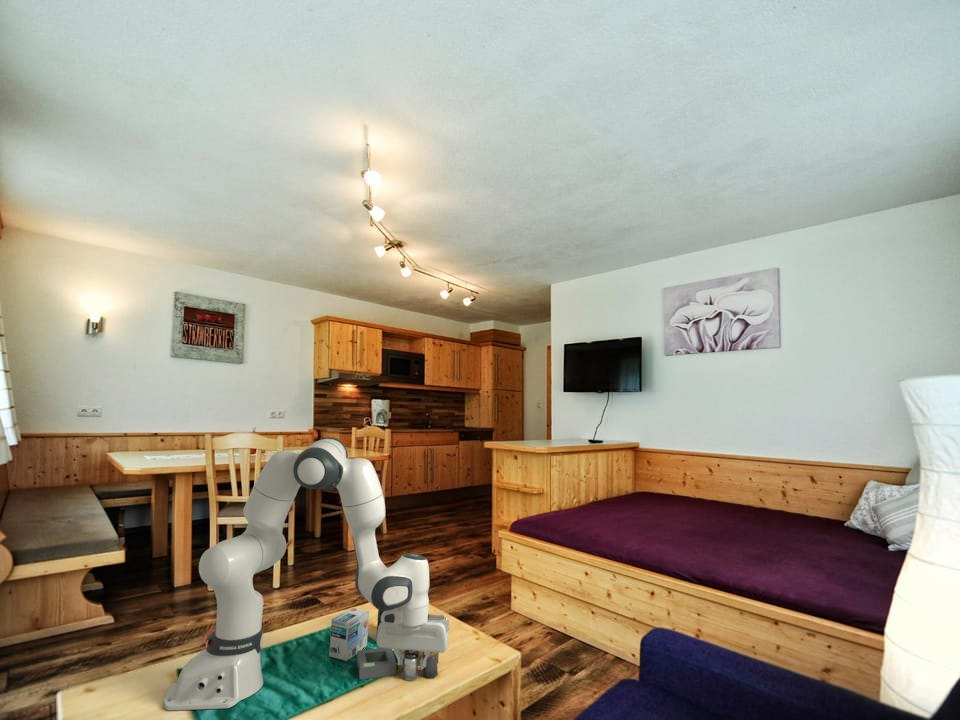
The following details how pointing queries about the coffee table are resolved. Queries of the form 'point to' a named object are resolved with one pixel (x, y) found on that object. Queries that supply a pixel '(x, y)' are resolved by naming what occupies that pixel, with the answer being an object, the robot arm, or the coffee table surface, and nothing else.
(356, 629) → the light bulb box
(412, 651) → the steel cell
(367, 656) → the cradle
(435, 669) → the copper cell
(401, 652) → the trough
